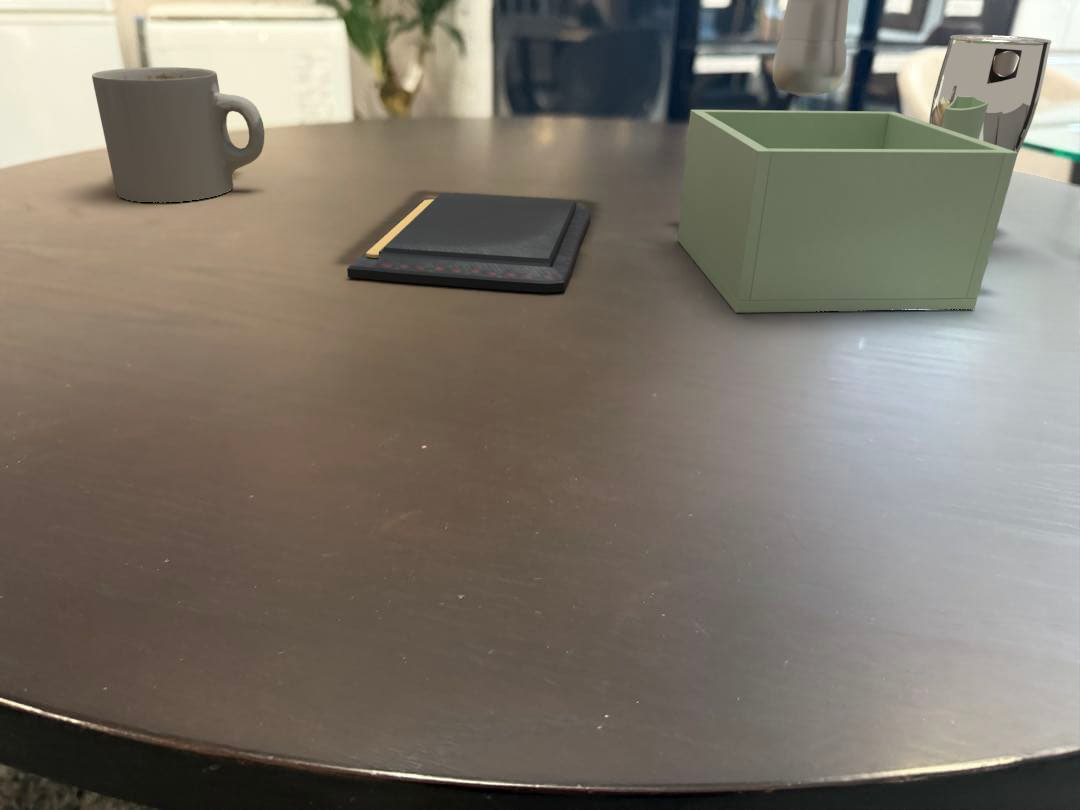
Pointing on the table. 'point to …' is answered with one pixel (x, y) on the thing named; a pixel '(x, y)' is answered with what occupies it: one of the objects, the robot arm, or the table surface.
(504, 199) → the wallet
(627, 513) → the table surface
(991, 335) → the table surface
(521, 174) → the table surface
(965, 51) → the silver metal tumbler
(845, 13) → the plastic bottle
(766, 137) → the bin
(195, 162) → the coffee mug
